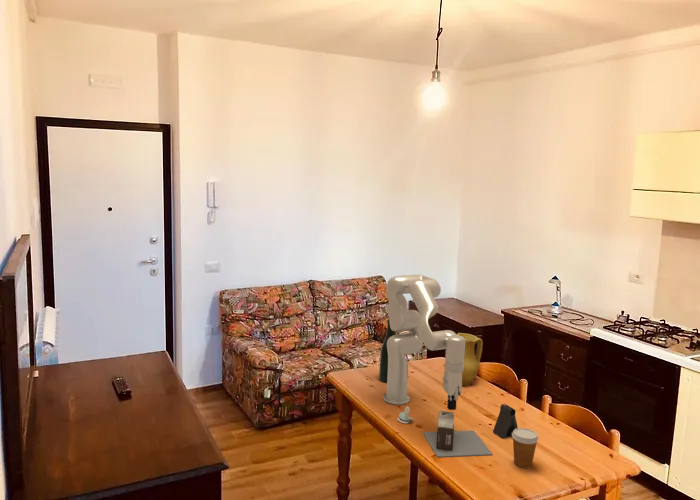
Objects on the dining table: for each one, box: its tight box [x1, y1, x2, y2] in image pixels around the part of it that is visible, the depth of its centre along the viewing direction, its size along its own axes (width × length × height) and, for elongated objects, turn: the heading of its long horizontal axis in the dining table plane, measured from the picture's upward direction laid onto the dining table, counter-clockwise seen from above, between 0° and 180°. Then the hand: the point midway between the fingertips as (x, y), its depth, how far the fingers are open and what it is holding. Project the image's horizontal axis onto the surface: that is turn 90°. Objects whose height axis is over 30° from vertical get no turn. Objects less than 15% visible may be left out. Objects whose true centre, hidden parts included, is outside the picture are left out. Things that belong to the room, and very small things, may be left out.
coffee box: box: [436, 410, 455, 451], centre depth 221 cm, size 9×6×16 cm
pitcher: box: [443, 332, 484, 387], centre depth 288 cm, size 17×19×25 cm
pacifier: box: [396, 406, 414, 424], centre depth 240 cm, size 7×6×6 cm
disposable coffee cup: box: [511, 427, 539, 469], centre depth 206 cm, size 10×10×12 cm
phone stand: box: [492, 403, 519, 439], centre depth 231 cm, size 9×6×12 cm, turn 114°
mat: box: [422, 429, 493, 458], centre depth 221 cm, size 20×22×1 cm
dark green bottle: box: [378, 318, 397, 384], centre depth 287 cm, size 10×10×33 cm
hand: (451, 408), depth 227 cm, fingers closed
